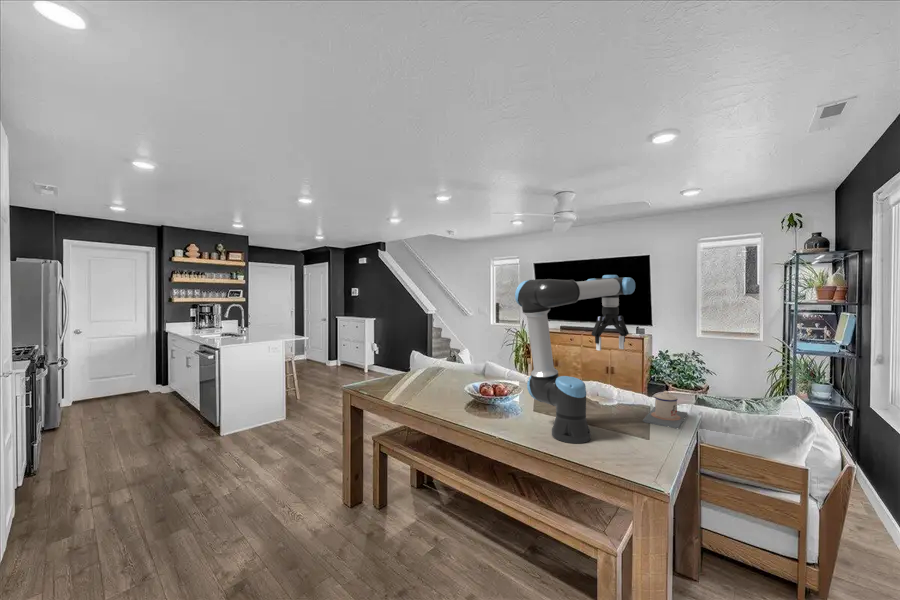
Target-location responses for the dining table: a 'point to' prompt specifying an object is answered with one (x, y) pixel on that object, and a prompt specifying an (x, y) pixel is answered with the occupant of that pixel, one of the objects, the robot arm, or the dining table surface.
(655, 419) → the slate tray
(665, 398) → the teacup with lid
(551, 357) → the robot arm
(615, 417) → the dining table surface
